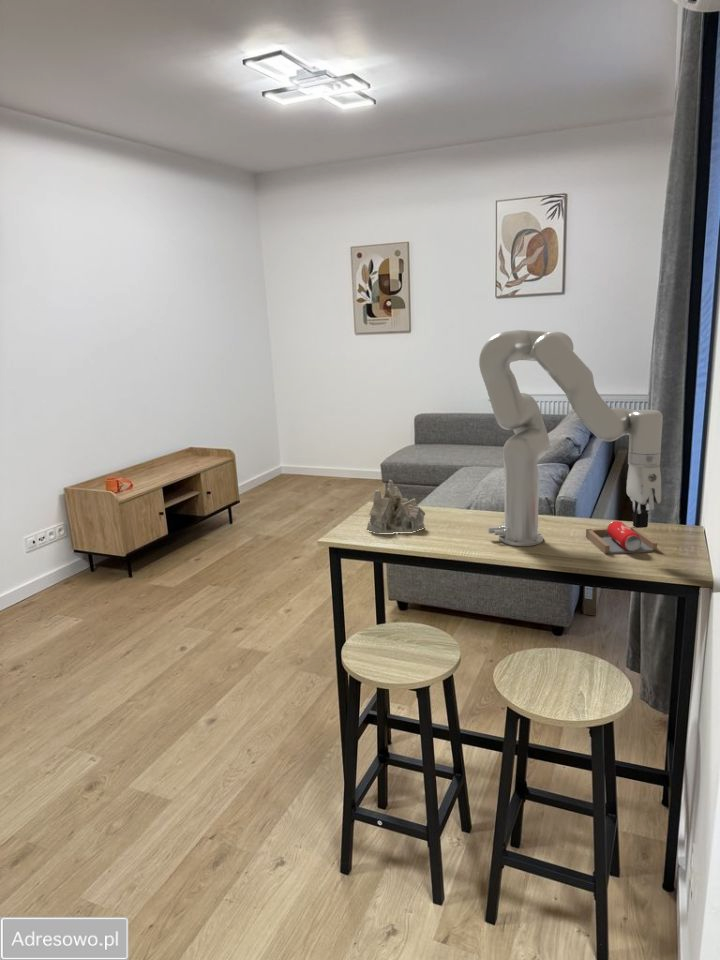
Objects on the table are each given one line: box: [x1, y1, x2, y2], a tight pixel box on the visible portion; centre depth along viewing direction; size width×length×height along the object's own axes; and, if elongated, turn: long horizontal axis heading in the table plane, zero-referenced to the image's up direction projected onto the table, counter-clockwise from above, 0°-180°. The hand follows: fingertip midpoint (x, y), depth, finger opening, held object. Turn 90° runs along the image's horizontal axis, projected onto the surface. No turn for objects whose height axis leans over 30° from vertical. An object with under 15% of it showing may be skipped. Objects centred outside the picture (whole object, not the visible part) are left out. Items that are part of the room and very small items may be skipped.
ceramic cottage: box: [366, 479, 426, 533], centre depth 203 cm, size 16×16×15 cm
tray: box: [585, 526, 658, 555], centre depth 182 cm, size 14×14×2 cm
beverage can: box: [606, 520, 641, 551], centre depth 180 cm, size 5×5×12 cm
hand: (640, 526), depth 170 cm, fingers closed
